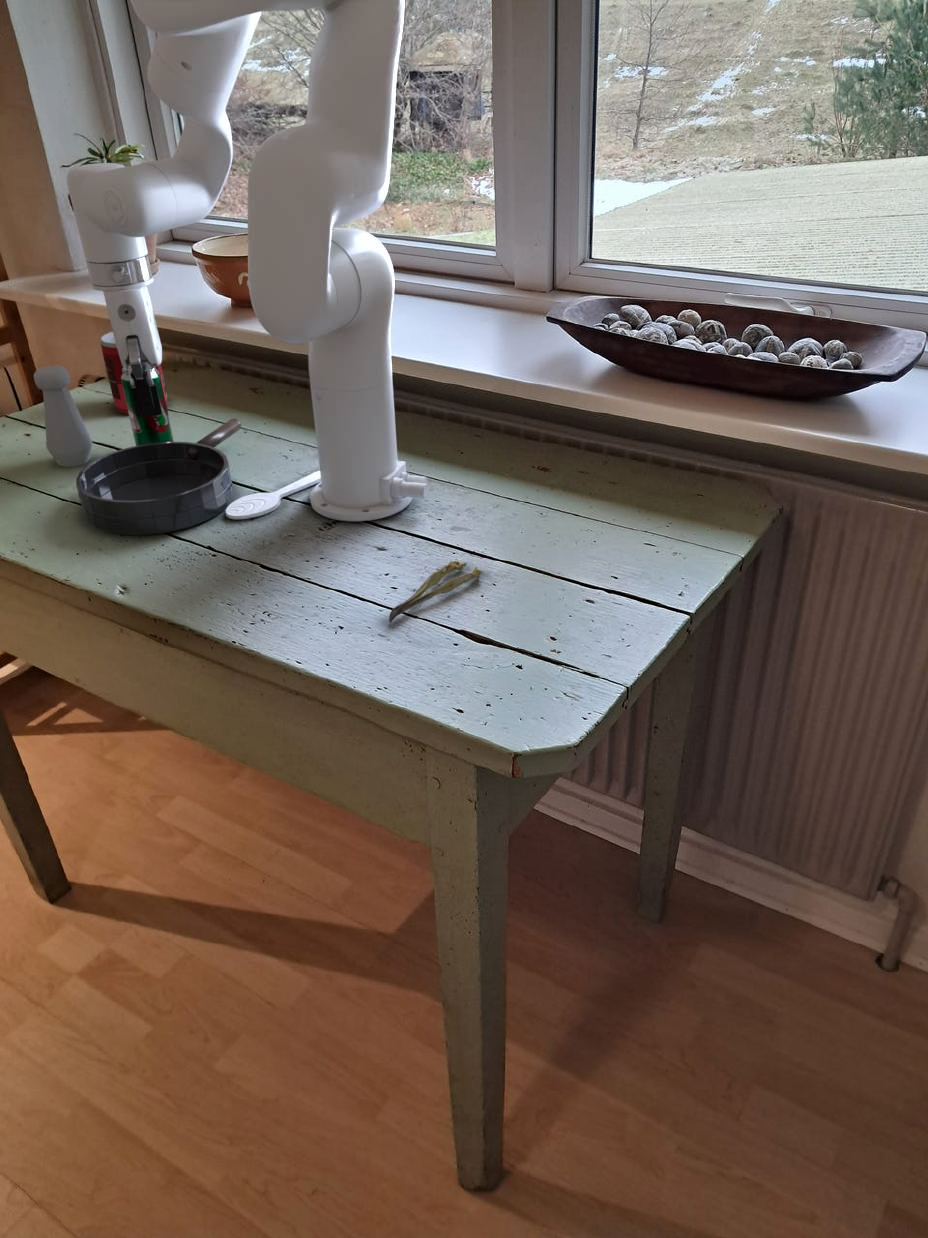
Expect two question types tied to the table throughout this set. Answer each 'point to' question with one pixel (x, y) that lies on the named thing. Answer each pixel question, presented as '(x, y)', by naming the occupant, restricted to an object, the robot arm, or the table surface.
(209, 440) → the pan handle
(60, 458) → the salt shaker
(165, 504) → the pan
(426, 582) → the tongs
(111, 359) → the canned food
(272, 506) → the spoon
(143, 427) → the soda can
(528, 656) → the table surface
